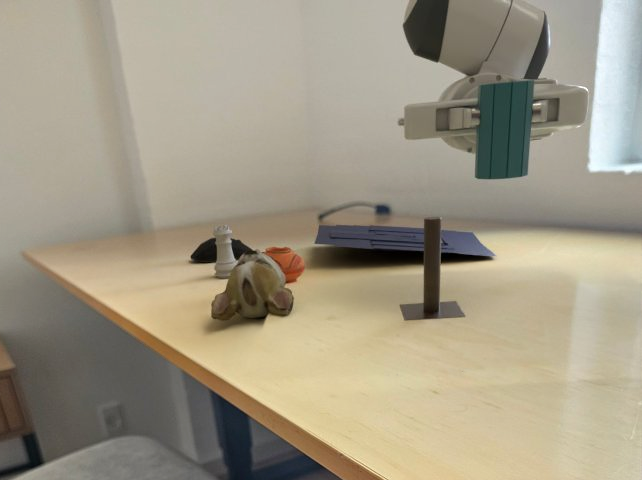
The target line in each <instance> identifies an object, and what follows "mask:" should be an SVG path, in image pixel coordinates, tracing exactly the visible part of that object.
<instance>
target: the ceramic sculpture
mask: <svg viewBox="0 0 642 480" xmlns="http://www.w3.org/2000/svg"><path fill="white" fill-rule="evenodd" d="M262 252H263V251H261V250H260V249H258V248H256V249H255V250H253V249H252V250H248V251H246V252H245V253H244V254H243V255H242V256H241V257H240V258H239V259H237V265H236V266H235V267H234V268H233V270H232V271H231V274H230V275H229V278H227V283H226V285H225V286H226V287H225V290H224V291H222V292H220V293H218V294H215V296H214V299H213V300H212V302H211V309H210V311H211V313H210V314H211V315H210V317H211V319H212V320H217V321H221V322H223V321H229V320H231V319H232V318H233V317H235V315H236V314H238V315H240V316H242V317H244V318H250V319H255V318H263V317H266V316H268V315H269V313H271V314H272V315H276V316H286V315H288V314H290V313H291V312H292V311H293V309H294V308H293V307H294V303H295V302H294V301H295V297H294V294H293V291H292V290H291V289H290V288H289V287H286V283H285V281H286V280H285V275H284V273H282V271H281V270H280V268H279V266H278V265H277V264H276V263H275V262H274V261H273V260H272V259H271V257H269V256H267V255H265V254H264V253H262Z"/></svg>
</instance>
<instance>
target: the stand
mask: <svg viewBox="0 0 642 480" xmlns="http://www.w3.org/2000/svg"><path fill="white" fill-rule="evenodd" d="M423 228H424V252H423V294H422V295H423V299H422V300H423V302H417V303H403V304H402V303H401V304H399V308H400V311H401V314H402V317H403V320H404V321H407V322H408V321H421V320H422V321H424V320H437V319H439V320H441V319H453V318H455V319H456V318H457V319H458V318H467V316H466V314H465V313H464V310H463V309H462V308H461V306H460V305H459V303H458V301H457V300H449V301H441V262H442V261H441V257H442V255H441V254H442V253H441V230H442V217H440V216H427V217H424V218H423Z"/></svg>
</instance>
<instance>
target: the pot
mask: <svg viewBox="0 0 642 480" xmlns="http://www.w3.org/2000/svg"><path fill="white" fill-rule="evenodd" d="M263 252H264V254H265V255H267V256H269V257H271V259H272V260H273V261H274V262H275V263H276V264H277V265H278V266H279V268H280V270H281V271H282V273H284V275H285V280H286V281H285V284H286V283H296V282H297V280H298V278H300V276H301V275H302V274H303V273H304V272H305V269H306V262H305V261H304V259H303V258H302V257H301V256H300V255H299V254H297V253H295V252H294V251H292V248H290V247H287V246H284V247H278V246H271V247H267V248H265V251H263Z"/></svg>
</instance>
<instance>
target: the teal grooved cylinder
mask: <svg viewBox="0 0 642 480" xmlns="http://www.w3.org/2000/svg"><path fill="white" fill-rule="evenodd" d="M533 94H534V80H527V81H514V82H503V83H493V84H484V85H479V86H478V103H477V108H480V110H481V115H480V117H479V118H480V125H479V127H477V130H476V154H475V158H474V159H475V160H474V161H475V162H474V178H475V179H477V180H506V179H516V178H523V177H526V176H528V175H529V163H530V149H531V141H530V136H531V122H532V106H533Z"/></svg>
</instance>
